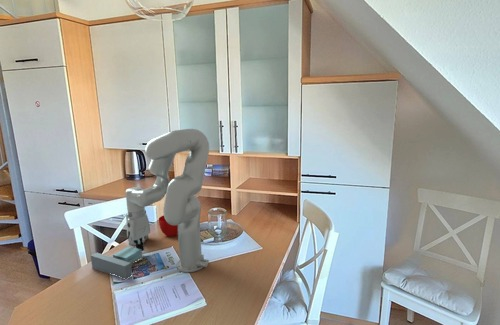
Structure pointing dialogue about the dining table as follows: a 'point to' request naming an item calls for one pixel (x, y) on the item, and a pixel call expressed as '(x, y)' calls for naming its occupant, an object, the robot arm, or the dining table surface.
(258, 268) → the dining table surface
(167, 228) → the ceramic cup
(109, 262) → the board
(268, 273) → the dining table surface
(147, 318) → the dining table surface
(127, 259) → the block
